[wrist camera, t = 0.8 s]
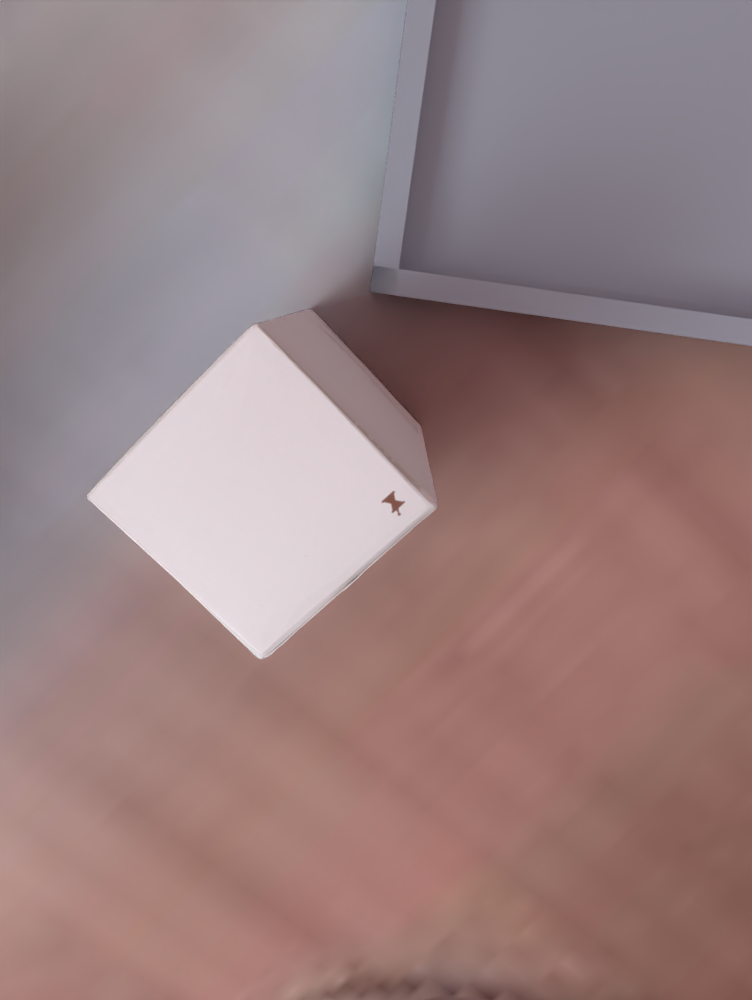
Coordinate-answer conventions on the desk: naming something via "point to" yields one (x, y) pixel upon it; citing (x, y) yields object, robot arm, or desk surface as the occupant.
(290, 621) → the supplement box
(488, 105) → the tray
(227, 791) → the desk surface
